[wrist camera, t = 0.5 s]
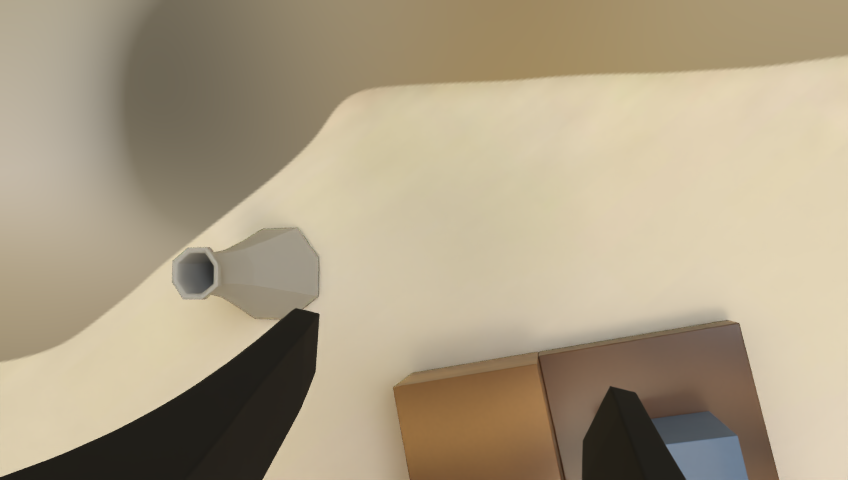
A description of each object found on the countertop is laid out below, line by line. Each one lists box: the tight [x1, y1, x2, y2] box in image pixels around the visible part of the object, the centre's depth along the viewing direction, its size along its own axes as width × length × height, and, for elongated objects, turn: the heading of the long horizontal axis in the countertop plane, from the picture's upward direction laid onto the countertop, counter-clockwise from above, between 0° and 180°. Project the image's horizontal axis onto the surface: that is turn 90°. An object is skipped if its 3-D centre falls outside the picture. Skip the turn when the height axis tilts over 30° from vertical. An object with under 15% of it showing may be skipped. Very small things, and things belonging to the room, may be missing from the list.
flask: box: [172, 228, 318, 319], centre depth 36 cm, size 7×7×10 cm
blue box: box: [651, 411, 748, 480], centre depth 30 cm, size 4×6×5 cm
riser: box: [393, 320, 779, 480], centre depth 33 cm, size 14×21×5 cm, turn 101°
